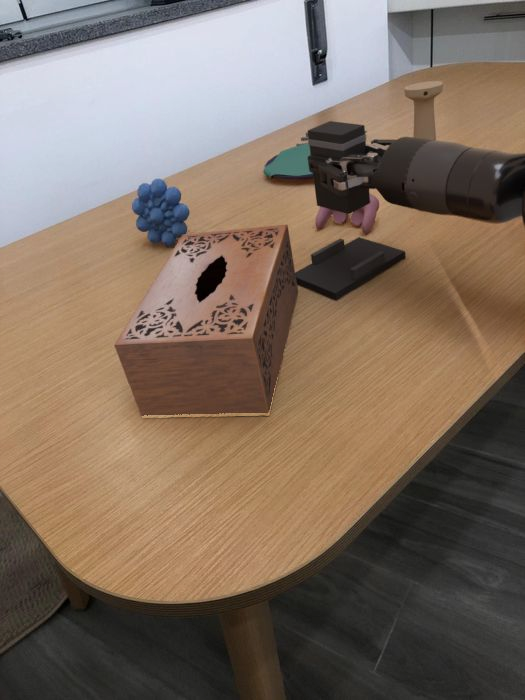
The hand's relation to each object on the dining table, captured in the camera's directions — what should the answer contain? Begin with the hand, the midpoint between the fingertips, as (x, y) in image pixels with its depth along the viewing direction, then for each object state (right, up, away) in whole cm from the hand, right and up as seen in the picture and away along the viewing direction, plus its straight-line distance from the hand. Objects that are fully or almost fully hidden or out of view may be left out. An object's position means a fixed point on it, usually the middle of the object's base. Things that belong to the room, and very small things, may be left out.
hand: (323, 157), depth 78 cm
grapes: (-23, -7, +27) cm, 36 cm away
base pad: (+4, -14, +8) cm, 16 cm away
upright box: (+3, -6, +1) cm, 7 cm away
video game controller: (+6, -5, +20) cm, 22 cm away
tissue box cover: (-12, -25, -3) cm, 28 cm away
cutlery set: (+5, +15, +50) cm, 52 cm away
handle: (+23, +8, +34) cm, 42 cm away
